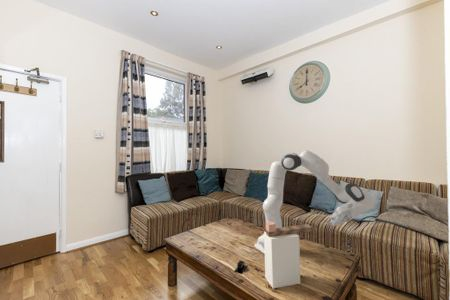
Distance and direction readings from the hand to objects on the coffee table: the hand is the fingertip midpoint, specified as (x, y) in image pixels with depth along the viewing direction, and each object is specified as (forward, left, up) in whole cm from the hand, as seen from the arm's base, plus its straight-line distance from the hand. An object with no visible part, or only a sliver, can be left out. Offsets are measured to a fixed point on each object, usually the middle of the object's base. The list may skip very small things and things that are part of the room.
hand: (328, 220), depth 123 cm
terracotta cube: (-15, -32, -1) cm, 36 cm away
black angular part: (-36, -37, -31) cm, 60 cm away
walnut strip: (-11, -22, -4) cm, 25 cm away
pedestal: (-13, -27, -30) cm, 42 cm away
